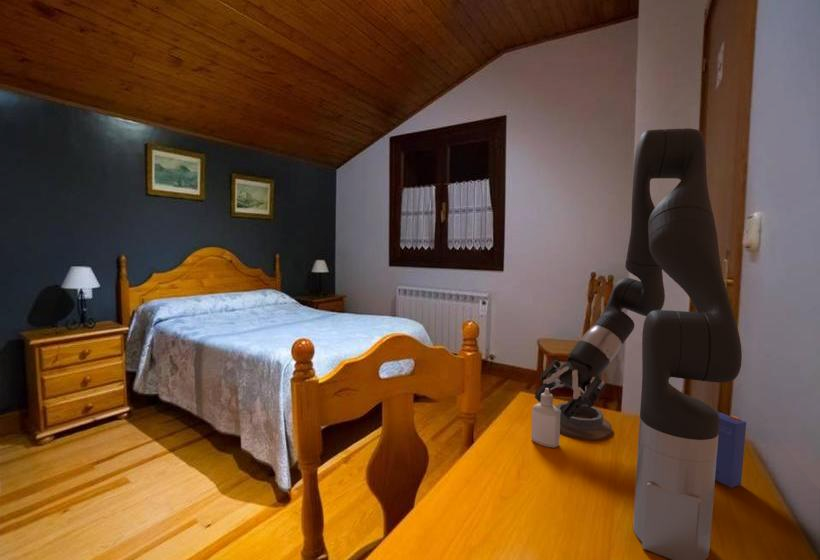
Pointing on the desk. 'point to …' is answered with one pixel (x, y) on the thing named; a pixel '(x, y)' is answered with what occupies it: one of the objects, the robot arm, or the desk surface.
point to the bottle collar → (585, 423)
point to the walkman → (730, 450)
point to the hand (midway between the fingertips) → (550, 407)
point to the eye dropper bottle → (546, 421)
